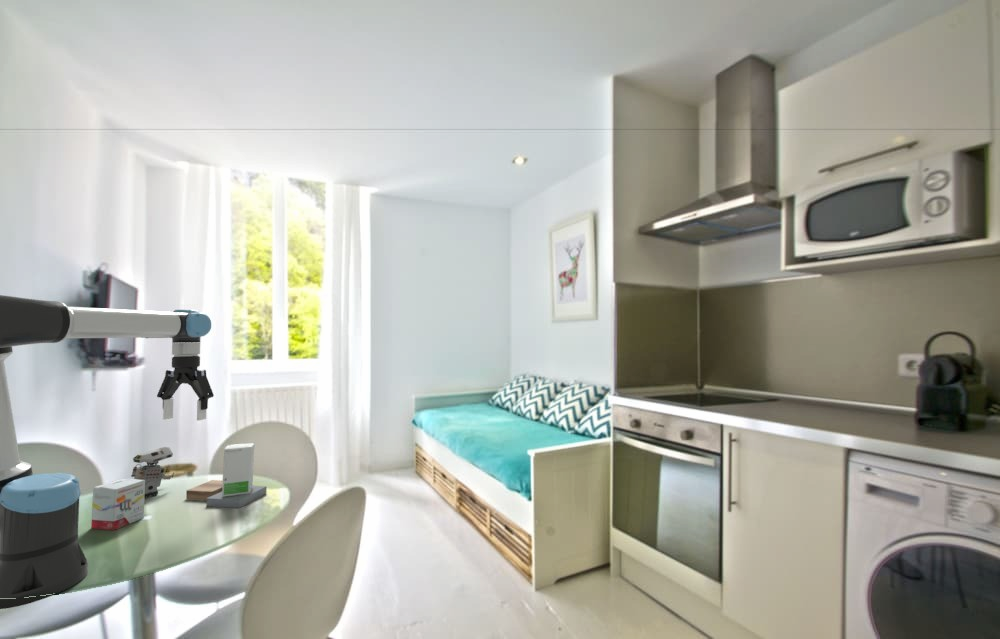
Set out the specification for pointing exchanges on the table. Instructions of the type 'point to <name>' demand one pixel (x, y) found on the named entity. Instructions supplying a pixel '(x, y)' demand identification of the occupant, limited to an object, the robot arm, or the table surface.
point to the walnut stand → (204, 490)
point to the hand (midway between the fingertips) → (184, 419)
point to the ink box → (118, 503)
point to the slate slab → (236, 498)
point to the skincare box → (238, 469)
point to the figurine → (151, 469)
